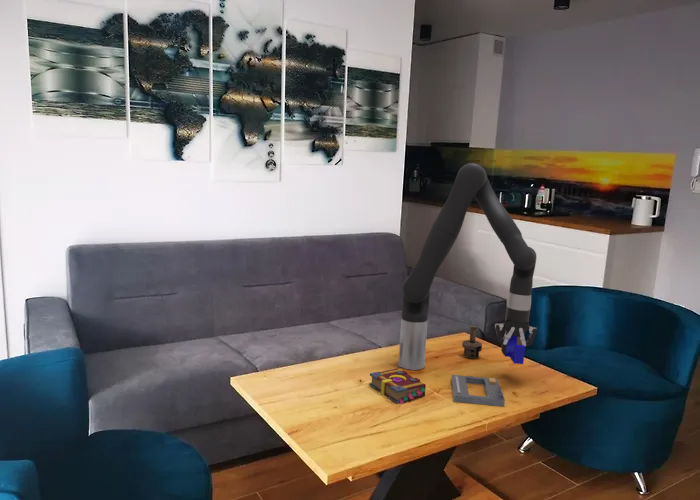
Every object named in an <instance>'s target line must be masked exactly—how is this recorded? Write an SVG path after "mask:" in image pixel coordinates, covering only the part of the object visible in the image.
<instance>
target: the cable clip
mask: <svg viewBox="0 0 700 500" xmlns="http://www.w3.org/2000/svg"><path fill="white" fill-rule="evenodd" d="M525 353H526V347H525V346H524V345H521V344H518V337H517V336H511V337H510V339H509V340H508V342H507V350H506V355H503V356H504V357H507V358H510V360H511V362H512V364H515V365H516V364H517V365H524V360H525Z"/></svg>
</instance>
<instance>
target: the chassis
mask: <svg viewBox="0 0 700 500" xmlns="http://www.w3.org/2000/svg"><path fill="white" fill-rule="evenodd" d="M450 381H451V382H450V383H451V389H452V390H451V391H452V396H453V403H464V404H471V405H474V404H475V405H484V406H485V405H487V406H495V407H505V401H506V399H505V397H504V394H503V392H502V388H501V385H500V381H499V379H498V378H497V377H496V378H494V377H493V378H492V377H483V376H482V377H481V376H471V375H459V374H451V379H450ZM468 384H470V385H482V386H483V387H484V392H485V395H486V396H485V395H475V394H474V395H473V394H470V393H469V389H468V388H469V387H468Z"/></svg>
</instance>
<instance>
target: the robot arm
mask: <svg viewBox="0 0 700 500" xmlns="http://www.w3.org/2000/svg"><path fill="white" fill-rule="evenodd" d="M473 199H474V200H476V203H478V205H479V207H480V209H481V210H482V211H483V214H484V215H485V217H486V219H487V222H488V223H489V225H490V226H491V228H492V230H493V231H494V234H495V235H496V236H497V238H498V240H499V241H500V242H501V243H502V245H503V246H504V249H505V251H506V253H507V255H508V256H509V259H510V260H511V262H512V264H513V270H512V271H513V272H512V276H511V278H510V283H509V291H508V296H507V300H506V310H505V311H506V312H505V316H504V317H505V319H504V321H503V323H495V324H494V328H495V333H496V339H497V342H498V343H501V353H502V355H503V356H504V355H506V350H507V342H508V340H509V339H510V337H511V336H517V338H520V340H519V341H520V343H521V344H520V345H524V346H525V348H526V347H527V346H532V345H533V344H534V343H533V342H534V341H535V338H536V335H537V333H538V329H537V327H535V326H530V324H529V321H530V316H531V315H530V314H531V313H530V312H531V306H532V294H533V293H532V291H533V277H534V273H535V271H536V270H535V268H536V264H537V263H536V262H537V252H536V251H535V249H533V248H532V247H531V246H528V244H527V242H526V241H525V240H524V237H523V234H522V231H521V230H520V228H519V226H518V225H517V224H516V222H515V221H514V219H513V218H512V216H511V215H510V214H509V212H508V211H507V209H506V208H505V207H504V205H503V204H502V202H501V200H499V198H498V196H497V194H496V193H495V191H494V189H493V188H492V185H491V183H490V180H489V178H488V175H487V172H486V170H485V168H484V167H483V166H481V165H479V164H477V163H476V162H475V163H474V162H471V163H470V162H469V163H466V164H464V165H462V167H460V168H459V170H458V172H457V174H456V177H455V179H454V182H453V185H452V188H451V190H450V193H449V195H448V197H447V199H446V201H445V203H444V204H443V206H442V207H441V209H440V211H439V212H438V215H437V216H436V218H435V220H434V222H433V223H432V225H431V228H430V230H429V232H428V234H427V236H426V238H425V241H424V243H423V246H422V249H421V252H420V255H419V258H418V260H417V262H416V264H415V266H414V267H413V269H412V271H411V272H410V274H409V275H408V276H407V277H406V278H405V279H404V282H403V285H402V297H403V299H402V308H401V315H400V317H401V319H400V333H399V334H400V335H399V349H398V350H399V351H398V368H402V369H405V370H413V371H414V370H415V371H417V370H422V369H424V368H425V364H426V351H427V349H426V348H427V347H426V346H427V332H428V331H427V330H428V319H429V318H428V317H429V308H430V295H431V287H432V284H433V282H434V278H435V277H436V274H437V272H438V270H439V268H440V267H441V266H442V265H443V262H444V261H445V259H446V258H447V256H448V254H449V253H450V252H451V250H452V248H453V246H454V244H455V242H456V241H457V238H458V237H459V234H460V232H461V229H462V227H463V224H464V222H465V217H466V214H467V212H468V209H469V206H470V205H471V203H472V201H473ZM503 328H504V330H505V333H504V336H503V337H502V336H501V331H502V330H503ZM528 331H529V335H528V338H527V340H526V338H525V337H526V336H525V334H526V333H527V332H528Z"/></svg>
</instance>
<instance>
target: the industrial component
mask: <svg viewBox="0 0 700 500" xmlns="http://www.w3.org/2000/svg"><path fill="white" fill-rule="evenodd" d="M469 330H470V331H469V339H468V340H467V339H466V340H463V341H462V344H461V346H462V347H463V356H464V357H465V358H469V359H479V358H480V352H482V350H483V343H482V342H480V341H477V340H476V336H477V325H473V324H472V325H470V329H469Z"/></svg>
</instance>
